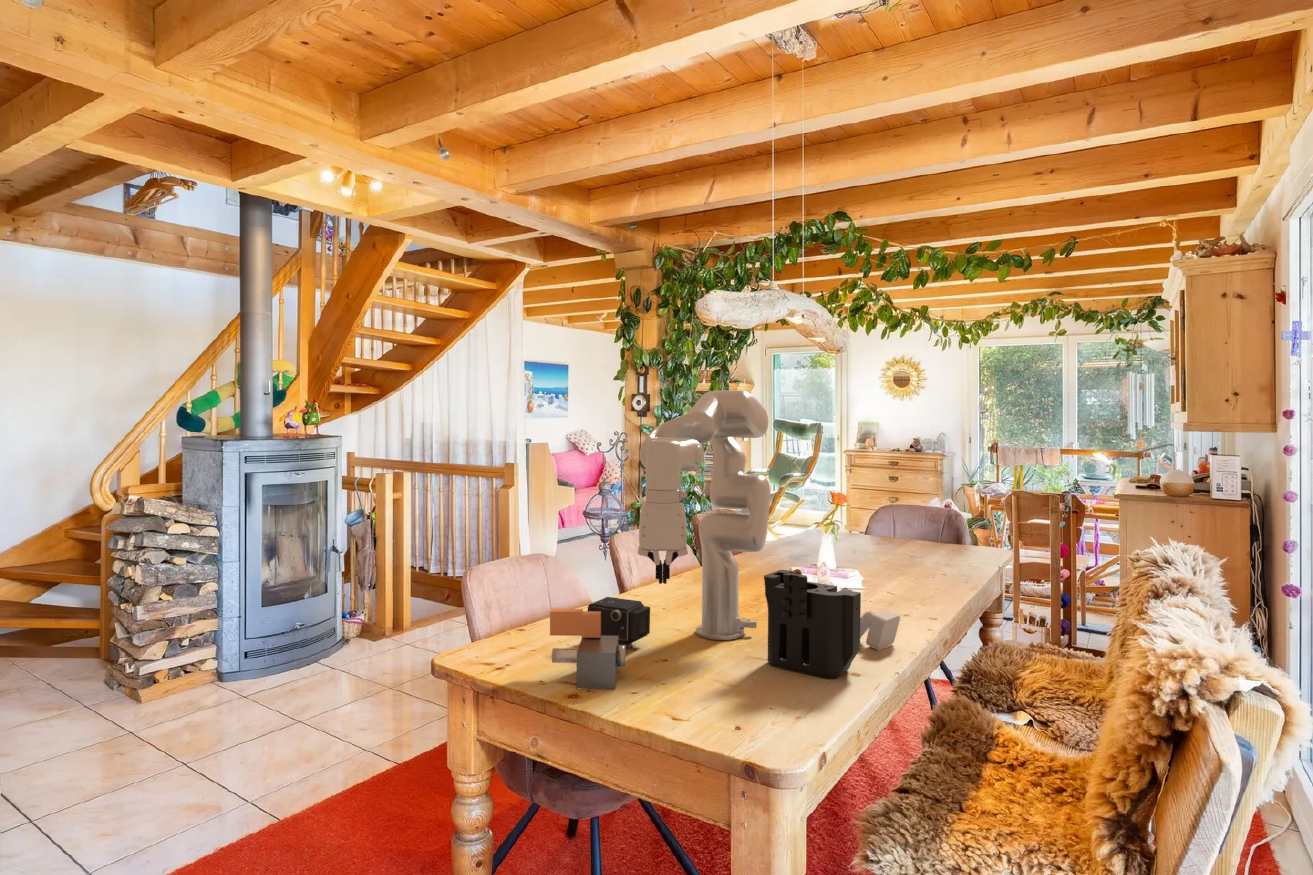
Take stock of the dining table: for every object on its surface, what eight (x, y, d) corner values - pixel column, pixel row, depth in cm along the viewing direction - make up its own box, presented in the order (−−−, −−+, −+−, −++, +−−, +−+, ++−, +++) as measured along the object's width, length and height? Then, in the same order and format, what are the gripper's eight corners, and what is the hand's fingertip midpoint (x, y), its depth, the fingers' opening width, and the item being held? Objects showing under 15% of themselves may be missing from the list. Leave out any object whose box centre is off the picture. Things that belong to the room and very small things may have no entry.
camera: (583, 650, 180) (636, 654, 173) (579, 604, 181) (632, 606, 174) (606, 639, 190) (657, 641, 183) (603, 595, 190) (653, 596, 183)
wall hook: (856, 633, 191) (864, 597, 189) (891, 651, 184) (901, 614, 182) (839, 639, 185) (848, 603, 183) (875, 658, 178) (885, 621, 176)
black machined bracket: (780, 654, 176) (781, 562, 175) (864, 672, 163) (865, 573, 163) (756, 667, 166) (757, 570, 166) (843, 687, 154) (845, 583, 153)
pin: (625, 662, 160) (625, 642, 160) (624, 670, 156) (624, 648, 155) (554, 662, 160) (554, 641, 160) (551, 669, 156) (551, 648, 155)
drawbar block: (618, 669, 164) (618, 635, 164) (615, 689, 152) (615, 652, 152) (582, 669, 164) (582, 635, 164) (576, 688, 152) (576, 652, 152)
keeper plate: (600, 633, 164) (600, 608, 164) (599, 637, 161) (599, 612, 161) (551, 633, 164) (551, 608, 164) (549, 637, 161) (549, 611, 161)
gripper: (696, 495, 161) (695, 578, 161) (628, 495, 161) (628, 578, 161) (699, 499, 153) (698, 586, 154) (627, 499, 153) (627, 586, 154)
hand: (662, 582), depth 158 cm, fingers closed
